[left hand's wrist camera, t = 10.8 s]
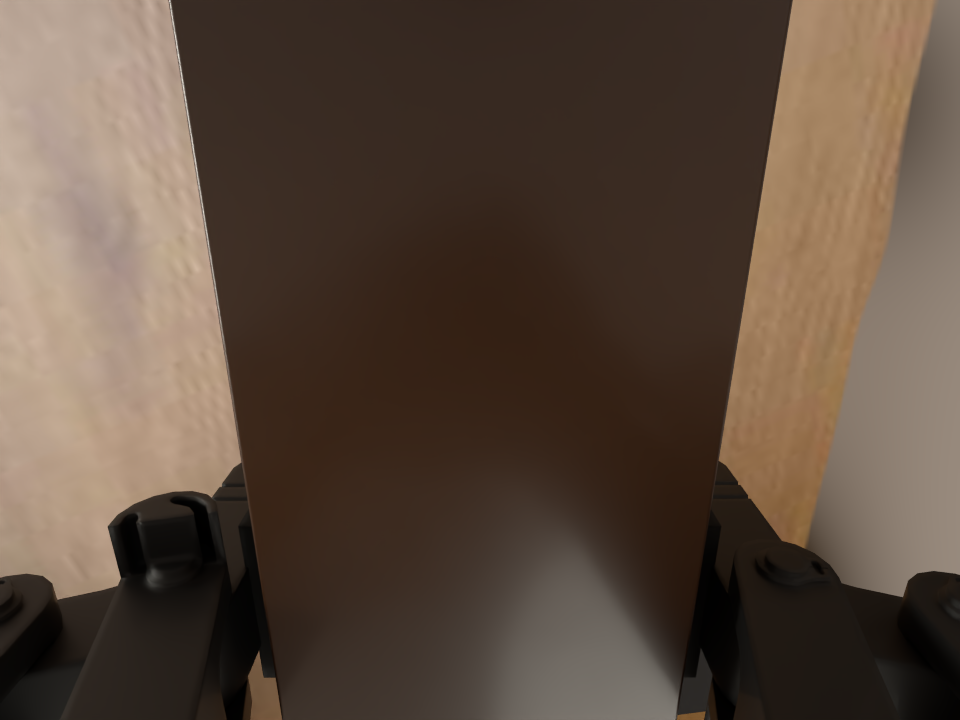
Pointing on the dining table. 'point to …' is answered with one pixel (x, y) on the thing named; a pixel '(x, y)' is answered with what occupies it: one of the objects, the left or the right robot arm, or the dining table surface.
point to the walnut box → (480, 332)
